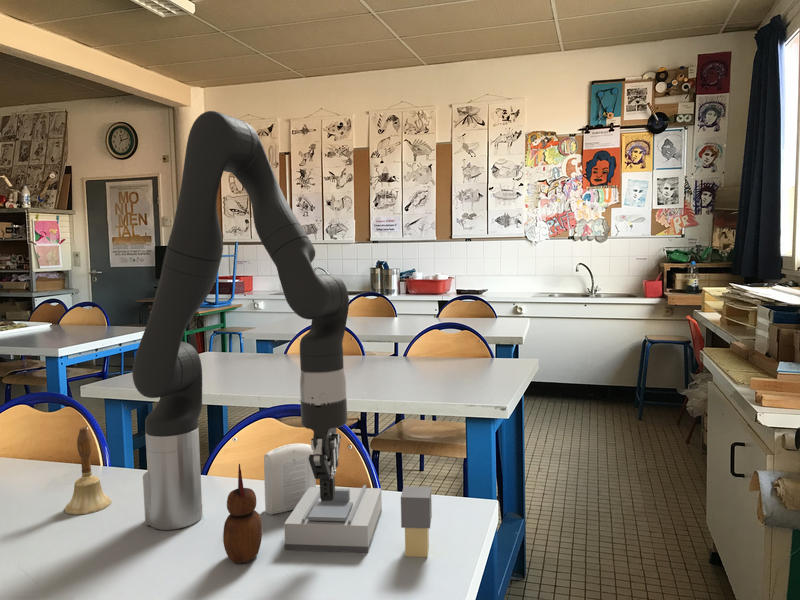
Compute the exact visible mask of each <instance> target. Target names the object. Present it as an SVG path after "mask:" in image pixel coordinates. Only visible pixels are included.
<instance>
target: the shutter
mask: <svg viewBox="0 0 800 600" xmlns="http://www.w3.org/2000/svg"><path fill="white" fill-rule="evenodd" d="M349 501H350V489H337V488H335V497H334V499H333V500H332V501H322V500H321V501H317V502H316V504H315V506H314V507H313V509H312V511H311V512H310V514H309V516H308V520H315V521H346V519H347V517H348V515H349V513H350V511H351V508H352V506H353V502H349Z"/></svg>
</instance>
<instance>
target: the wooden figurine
mask: <svg viewBox="0 0 800 600" xmlns="http://www.w3.org/2000/svg"><path fill="white" fill-rule="evenodd" d="M237 473H238V474H237V475H238V477H237V478H238V479H237V488H235V489H233V490H231V491H230V492H229V493H228V496H227V500H226V508H227V511H228V514H229V515H228V516H227V517H226V519H225V521H224V525H223V534H222V541H223V542H222V543H223V548H224V551H225V553H226V556H227V557H228V559H229V560H230V561H232V562H233V563H236V564H243V563H244V564H245V563H248V562H250V561H252V560H253V559H255V558H256V556H258V554H259V551H260V548H261V544H262V540H263V539H262V538H263V523H262V522H263V521H262V517H261V515H260V514H259V512H257V511H256V510H255V509H256V507H257V496H256V495H257V494H256V493H255V491H254V490H253V489H252V488H250V487H244V483H243V476H242V468H241V464H240V463H238V472H237Z"/></svg>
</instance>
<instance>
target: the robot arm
mask: <svg viewBox="0 0 800 600" xmlns="http://www.w3.org/2000/svg"><path fill="white" fill-rule="evenodd" d="M185 148H186V149H185V153H184V154H185V155H184V163H183V171H182V178H181V185H180V191H179V195H178V200H177V205H176V210H175V213H174V218H173V223H172V228H171V232H170V235H169V239H168V242H167V245H166V250H165V253H164V258H163V262H162V266H161V273H160V277H159V281H158V284H157V288H156V292H155V294H154V295H155V296H154V299H153V302H152V307H151V310H150V314H149V316H148V320H147V323H146V325H145V329H144V331H143V334H142V337H141V338H140V339H141V340H140V342H139V345H138V348H137V350H136V352H135V355H134V360H133V364H132V375H131V376H132V381H133V384H134V387H135V389H136V390H137V392H139V394H140V395H142V396H143V397H145V398H150V399H158V398H159V400H158V402H157V404H156V406H155V407H154V408H153V409H152V410H151V411H150V412H149V413H148V415H146V417H145V421H144V423H145V424H144V426H145V427H144V429H145V446H146V447H145V448H146V462H147V463H146V464H147V465H146V466H147V467H146V468H147V471H146V472H145V473H144V474H142V486H143V503H144V504H143V508H144V524H145V526H151V528H153V529H157V530H160V531H161V530H162V531H163V530H164V531H167V530H169V531H171V530H178V529H182V528H186V527H189V526H192V525H193V524H195V523H197V522H199V521H200V520H201V519H202V517H203V501H202V500H203V497H202V496H203V495H202V492H203V491H202V477H201V476H202V474H201V454H200V453H201V451H200V450H201V449H200V435H199V418H200V415H201V412H202V408H203V367H202V361H201V357H200V354H199V353H198V351H197V350H196V348H195V347H194V346H193V345H192V344H190V343H188V342H185V341H182V340H183V337H184V334H185V331H186V330H187V327H188V325H189V323H190V322H191V320H192V318H193V317H194V315H195V314H196V313H197V312H198V310H199V309H200V307H201V306H202V305H203V303H204V301H206V299H207V297H208V296H209V294H210V292H212V289H213V287H214V286H215V283H216V280H217V277H218V273H219V269H220V265H221V261H222V257H223V251H224V239H223V233H222V228H221V225H220V218H219V214H218V208H217V207H218V206H217V204H218V203H217V201H218V193H219V189H220V185H221V181H222V176H223V173H224V172H227V173H231V174H232V175H233V176H234V177H235V178H236V179H237V181H238V182H239V183H240V184H241V186H242V187H243V188H244V191H246V193H247V195H248V197H249V201H250V204H251V209H252V217H253V223H254V227H255V231H256V233H257V236H258V238H259V240H260V242H261V243H262V245H263V247H264V249H265V250H266V252H267V254H268V255H269V257H270V259H271V261H272V262H273V264H274V265H275V267H276V270H277V275H278V279H279V282H280V285H281V288H282V292H283V295H284V298H285V300H286V302H287V304H288V306H289V307H290V309H291V310H292V312H294V313H295V315H297V316H298V317H299V318H302V319H305V320H311V325H310V329H309V331H308V332H307V333H305V334H304V335H303V336H302V337H301V338H300V341H299V362H300V363H299V364H300V375H299V378H300V379H299V396H300V397H299V398H300V399H299V400H300V416H301V417H300V418H301V419H300V420H301V426H302V427H303V428H305V429H307V430H311V431H313V433H312V434H313V435H312V436H313V437H311V439H310V446H311V449H312V450H313V455H309V462H310V465H311V468H312V471H313V474H314V477H315V479H316V480H319V487H320V499H321V500H322V501H332V500H333V499H334V497H335V487H336V483H335V482H336V480H335V476H336V474H337V469H336V468H338V466H339V458H340V457H339V456H340V447H341V439H342V436H341V433H337V429H339V428H341V427H343V426H345V425H346V424H347V423H348V407H347V405H348V403H347V402H348V401H347V400H348V399H347V382H346V375H345V367H344V366H345V365H344V346H343V342H344V341H343V340H344V336H345V332H346V326H347V321H348V314H349V308H350V307H349V306H350V301H349V300H350V299H349V298H350V297H349V292H348V288H347V286H346V284H345V282H344V281H343V280H342V279H341V278H340V277H339V276H338V275H336V274H331V273H324V274H323V273H322V274H317V273H316V271H315V270H314V268H313V265H312V262H313V261H314V260H315V257H316V250H315V246H314V244H313V243H312V241H311V239H310V238H309V236H308V235H307V233H306V231H305V230H304V228H303V226H302V224H301V223H300V221H299V220H298V218H297V217H296V215H295V214H294V211H293V209H292V208H291V206H290V205H289V203H288V201H287V199H286V197H285V195H284V192H283V190H282V188H281V187H280V184H279V182H278V180H277V177H276V175H275V173H274V170H273V168H272V165H271V162H270V161H269V158H268V155H267V153H266V150H265V147H264V145H263V143H262V140H261V139H260V137H259V134H258V133H257V131H256V129H255V128H254V127H253V126H252V125H251V124H249V123H247V122H246V121H244V120H241V119H238V118H236V117H233V116H230V115H228V114H225V113H222V112H219V111H215V110H207V111H204V112H203V113H201V114H200V115H199V116H198V117H196V119H195V120H194V122H193V123H192V125H191V127H190V130H189V134H188V137H187V141H186V146H185Z"/></svg>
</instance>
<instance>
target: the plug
mask: <svg viewBox="0 0 800 600" xmlns="http://www.w3.org/2000/svg"><path fill="white" fill-rule="evenodd" d="M432 507H433V506H432V487H431V486H410V485H409V486H407V485H404V486H403V488H402V491H401V494H400V523H401V525H400V527H401V528H404V554H405V555H404V556H405V557H413V558H414V557H415V558H428V557H429V551H430V550H429V549H430V533H429V531H430V529H431V526H432V525H431V523H432V519H433V518H432Z"/></svg>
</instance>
